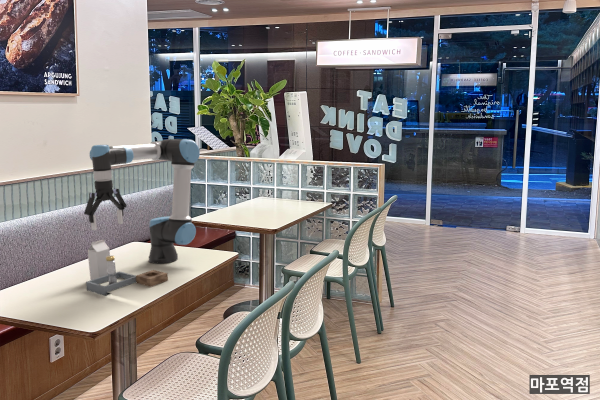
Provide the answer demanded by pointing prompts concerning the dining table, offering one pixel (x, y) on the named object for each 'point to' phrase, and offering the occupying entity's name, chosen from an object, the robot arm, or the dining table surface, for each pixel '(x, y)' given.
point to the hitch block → (151, 278)
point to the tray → (103, 290)
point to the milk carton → (98, 259)
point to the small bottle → (111, 269)
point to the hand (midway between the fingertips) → (107, 226)
